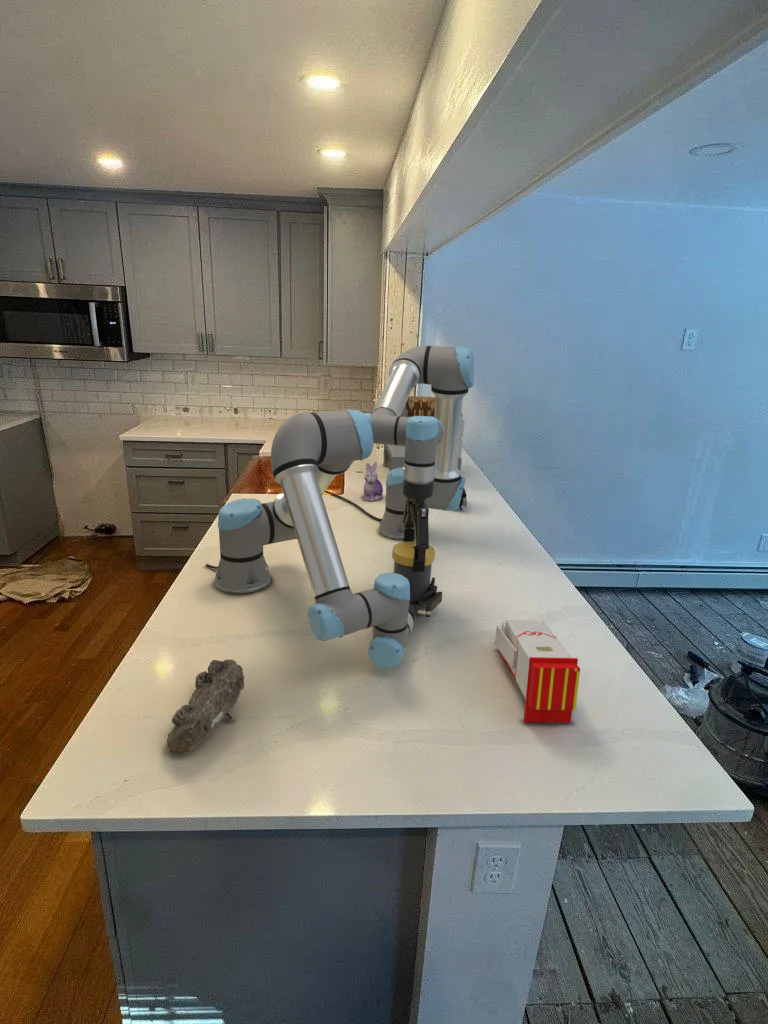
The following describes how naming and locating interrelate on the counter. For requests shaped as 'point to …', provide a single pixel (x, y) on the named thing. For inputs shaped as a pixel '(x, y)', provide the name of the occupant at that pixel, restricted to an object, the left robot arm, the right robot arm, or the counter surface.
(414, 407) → the grey slatted crate
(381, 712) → the counter surface
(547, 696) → the toy
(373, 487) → the figurine
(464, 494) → the figurine character
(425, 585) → the jar
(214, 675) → the fossil
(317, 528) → the left robot arm
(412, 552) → the lid
